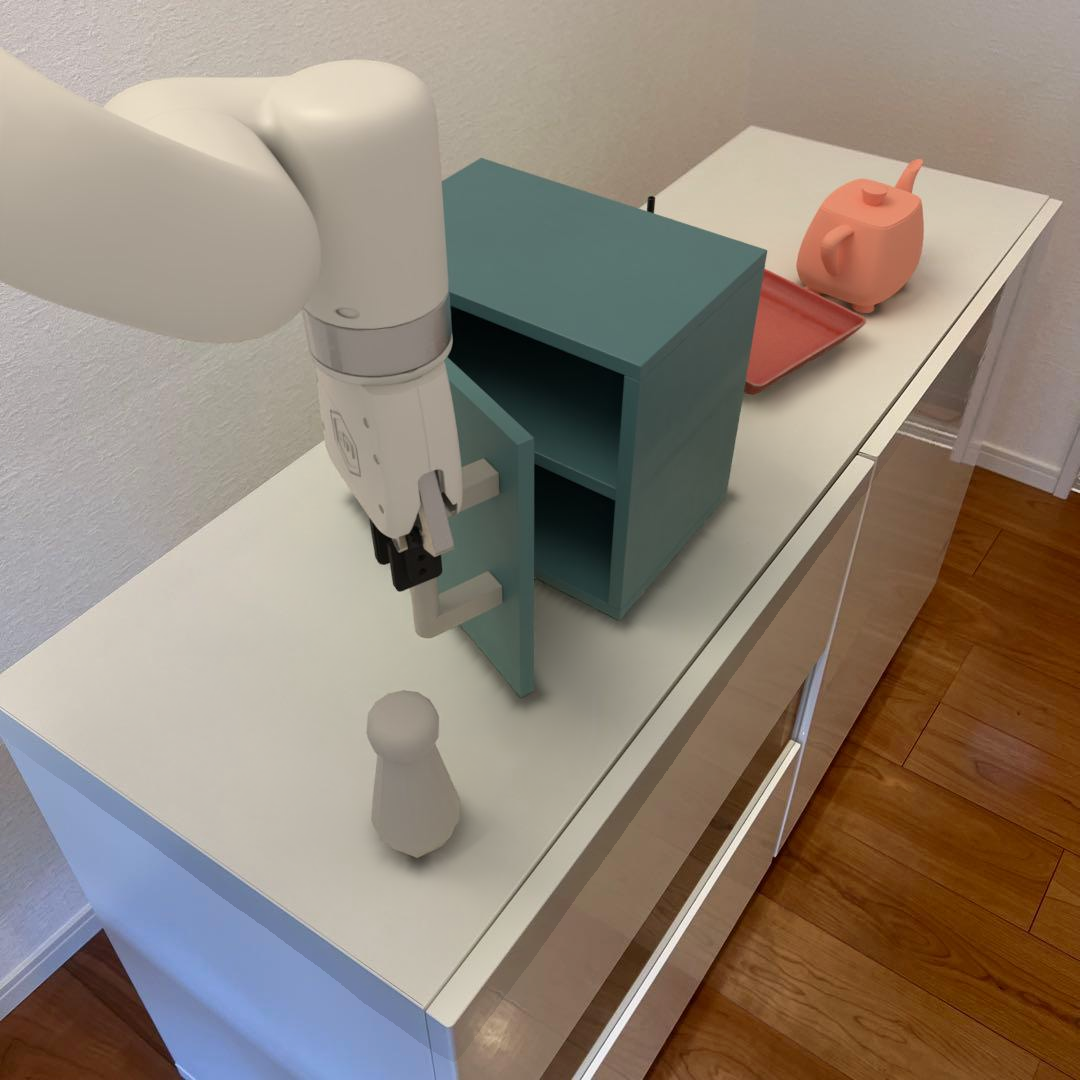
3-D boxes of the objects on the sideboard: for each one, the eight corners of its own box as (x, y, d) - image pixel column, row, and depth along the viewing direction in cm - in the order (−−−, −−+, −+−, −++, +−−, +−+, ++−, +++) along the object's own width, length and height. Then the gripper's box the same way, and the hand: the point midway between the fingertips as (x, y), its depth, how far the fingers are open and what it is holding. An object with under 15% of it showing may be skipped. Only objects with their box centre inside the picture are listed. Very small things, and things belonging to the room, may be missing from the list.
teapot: (860, 341, 114) (886, 238, 105) (763, 302, 119) (780, 200, 111) (942, 267, 125) (972, 167, 116) (850, 234, 130) (872, 137, 122)
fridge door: (446, 738, 77) (422, 485, 60) (289, 527, 93) (235, 280, 76) (534, 690, 80) (534, 437, 63) (367, 494, 96) (332, 249, 79)
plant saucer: (732, 278, 123) (736, 251, 120) (864, 345, 113) (871, 317, 111) (621, 338, 114) (623, 310, 112) (753, 415, 104) (758, 388, 102)
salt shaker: (427, 777, 75) (412, 657, 66) (479, 832, 72) (471, 715, 63) (357, 826, 72) (332, 709, 63) (408, 886, 69) (389, 771, 60)
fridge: (619, 621, 85) (641, 366, 68) (368, 493, 96) (332, 245, 79) (726, 497, 96) (768, 249, 79) (489, 394, 107) (481, 157, 90)
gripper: (257, 270, 59) (307, 514, 72) (374, 426, 49) (408, 676, 62) (382, 236, 62) (409, 477, 75) (516, 377, 52) (521, 627, 65)
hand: (408, 566), depth 68 cm, fingers closed on fridge door, 2 cm apart
